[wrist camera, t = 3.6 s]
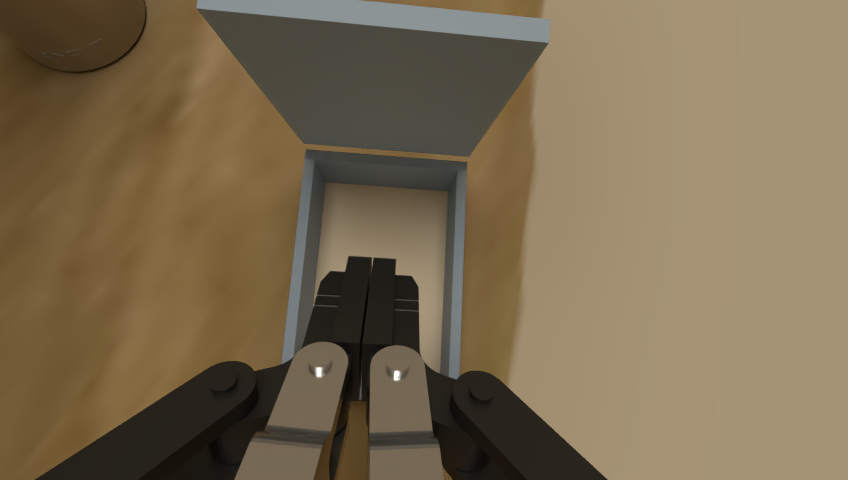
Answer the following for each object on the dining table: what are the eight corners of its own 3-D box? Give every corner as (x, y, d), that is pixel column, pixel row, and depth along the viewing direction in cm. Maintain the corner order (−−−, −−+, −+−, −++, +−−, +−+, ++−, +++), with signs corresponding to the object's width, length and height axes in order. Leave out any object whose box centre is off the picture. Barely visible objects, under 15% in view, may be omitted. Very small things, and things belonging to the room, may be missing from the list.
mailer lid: (303, 143, 25) (304, 130, 25) (469, 156, 26) (469, 143, 26) (196, 8, 12) (199, -20, 12) (548, 42, 12) (550, 16, 12)
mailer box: (319, 176, 31) (305, 149, 26) (455, 186, 32) (466, 162, 27) (297, 382, 28) (277, 395, 23) (446, 389, 29) (458, 403, 24)
